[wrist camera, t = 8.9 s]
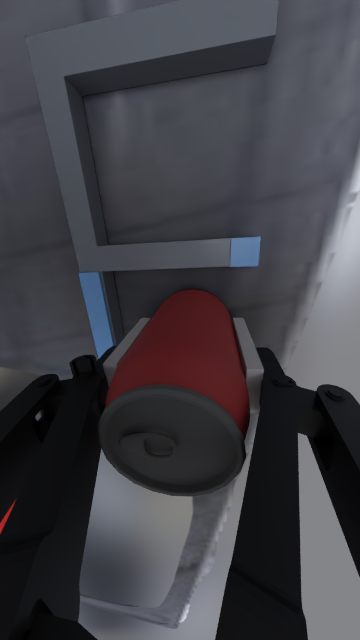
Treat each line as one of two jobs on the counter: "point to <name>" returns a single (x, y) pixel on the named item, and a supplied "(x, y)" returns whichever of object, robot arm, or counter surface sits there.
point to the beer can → (179, 401)
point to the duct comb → (125, 72)
